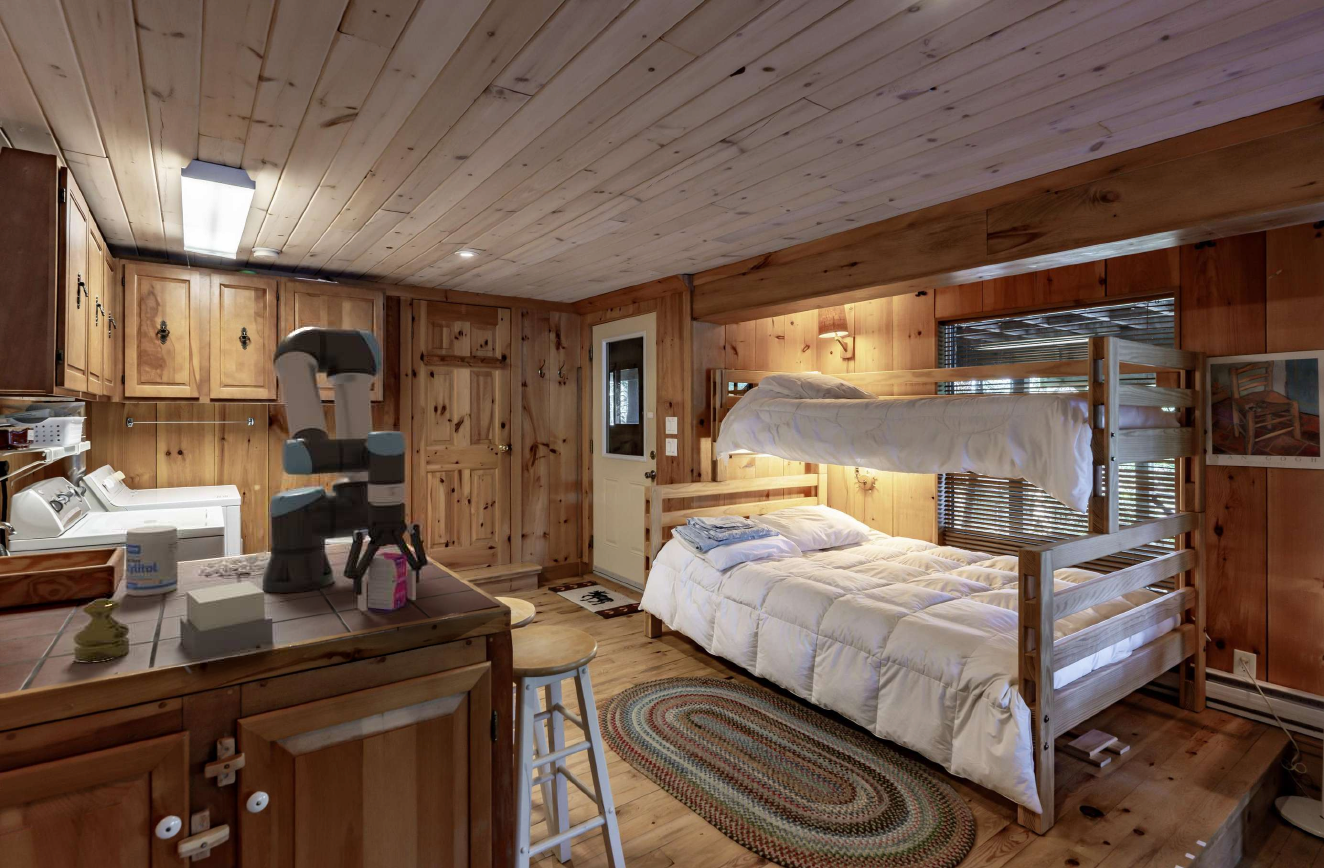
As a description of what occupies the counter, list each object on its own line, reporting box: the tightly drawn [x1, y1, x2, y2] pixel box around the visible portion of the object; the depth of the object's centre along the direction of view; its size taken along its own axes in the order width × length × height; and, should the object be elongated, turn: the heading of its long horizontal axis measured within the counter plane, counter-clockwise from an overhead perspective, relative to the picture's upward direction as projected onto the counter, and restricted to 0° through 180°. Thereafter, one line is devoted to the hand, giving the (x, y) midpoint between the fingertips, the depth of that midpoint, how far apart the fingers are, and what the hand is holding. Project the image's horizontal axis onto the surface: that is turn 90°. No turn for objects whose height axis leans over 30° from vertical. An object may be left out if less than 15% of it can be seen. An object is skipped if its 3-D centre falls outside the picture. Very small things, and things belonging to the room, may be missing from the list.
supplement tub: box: [125, 525, 179, 597], centre depth 153 cm, size 10×10×15 cm
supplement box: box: [367, 551, 407, 613], centre depth 144 cm, size 6×6×12 cm
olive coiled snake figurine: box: [72, 597, 130, 662], centre depth 115 cm, size 7×8×10 cm
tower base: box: [179, 612, 274, 661], centre depth 122 cm, size 12×12×5 cm
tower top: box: [186, 580, 266, 631], centre depth 122 cm, size 10×10×5 cm
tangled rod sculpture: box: [197, 550, 271, 576], centre depth 173 cm, size 19×14×4 cm
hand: (387, 603), depth 144 cm, fingers open, 10 cm apart
